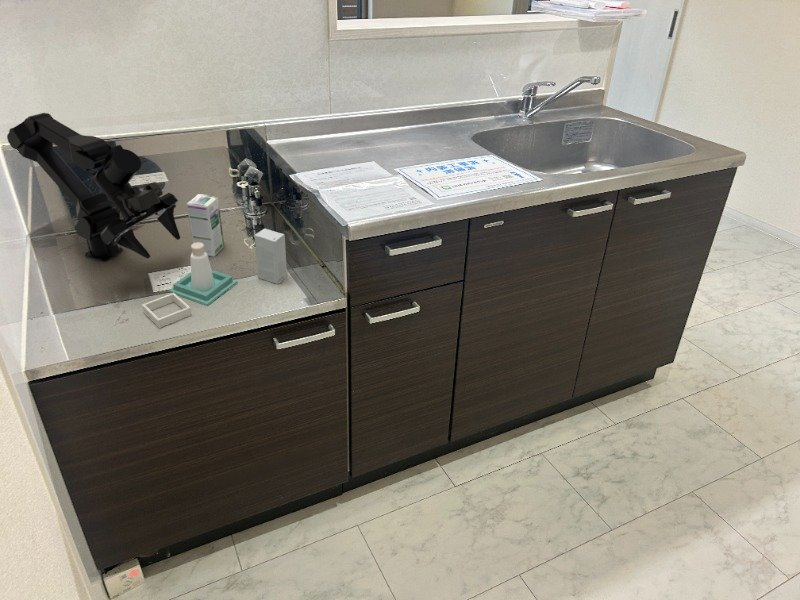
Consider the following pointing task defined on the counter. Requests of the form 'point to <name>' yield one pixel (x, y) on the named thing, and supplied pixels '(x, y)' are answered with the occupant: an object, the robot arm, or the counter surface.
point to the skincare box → (271, 255)
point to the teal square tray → (203, 297)
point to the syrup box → (206, 223)
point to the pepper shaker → (200, 269)
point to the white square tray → (171, 317)
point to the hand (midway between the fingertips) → (164, 248)
